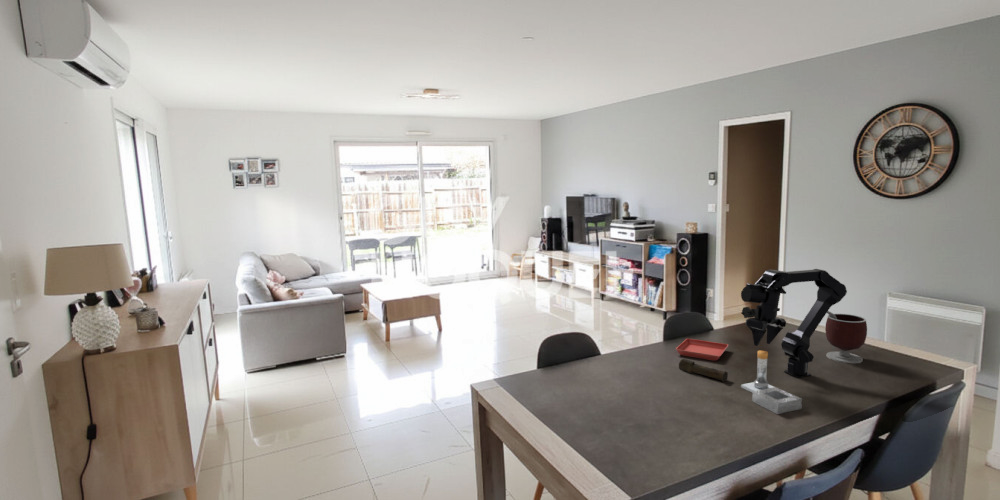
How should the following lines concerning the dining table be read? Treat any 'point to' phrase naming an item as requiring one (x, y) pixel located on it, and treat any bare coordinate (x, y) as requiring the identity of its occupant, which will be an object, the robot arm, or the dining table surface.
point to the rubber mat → (752, 387)
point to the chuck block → (777, 400)
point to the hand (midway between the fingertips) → (762, 344)
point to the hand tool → (702, 370)
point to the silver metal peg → (761, 370)
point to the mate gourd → (845, 336)
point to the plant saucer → (701, 349)
